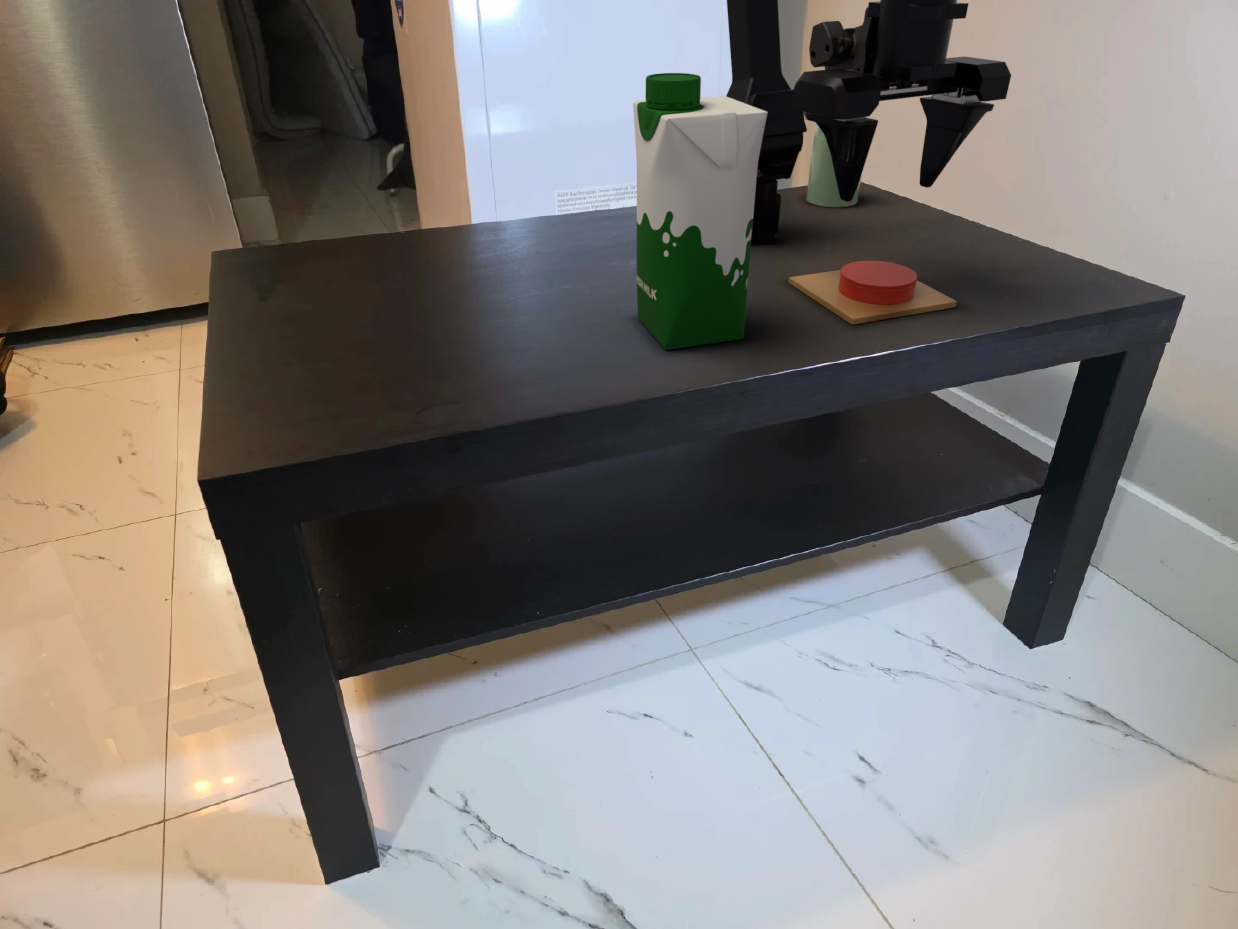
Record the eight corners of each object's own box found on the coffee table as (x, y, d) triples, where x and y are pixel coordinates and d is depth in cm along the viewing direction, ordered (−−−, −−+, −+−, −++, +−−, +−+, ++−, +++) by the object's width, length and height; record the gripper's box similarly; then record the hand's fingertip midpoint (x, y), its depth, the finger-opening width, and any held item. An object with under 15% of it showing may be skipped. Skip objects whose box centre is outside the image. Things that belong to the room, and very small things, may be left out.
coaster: (852, 325, 71) (853, 318, 70) (788, 282, 79) (788, 276, 79) (956, 307, 74) (957, 301, 73) (883, 268, 82) (884, 262, 82)
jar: (858, 208, 100) (870, 126, 95) (805, 205, 101) (814, 125, 96) (857, 194, 106) (868, 116, 100) (806, 192, 107) (815, 115, 102)
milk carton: (624, 316, 73) (623, 70, 62) (717, 304, 75) (732, 64, 64) (658, 357, 66) (663, 87, 55) (760, 341, 68) (784, 79, 57)
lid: (879, 273, 79) (882, 256, 78) (930, 296, 74) (934, 277, 73) (823, 285, 77) (825, 267, 76) (872, 310, 72) (875, 291, 71)
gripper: (930, -20, 72) (899, 162, 81) (759, -13, 65) (745, 186, 74) (1036, -16, 64) (989, 187, 73) (854, -6, 57) (825, 217, 65)
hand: (886, 193), depth 71 cm, fingers open, 9 cm apart
